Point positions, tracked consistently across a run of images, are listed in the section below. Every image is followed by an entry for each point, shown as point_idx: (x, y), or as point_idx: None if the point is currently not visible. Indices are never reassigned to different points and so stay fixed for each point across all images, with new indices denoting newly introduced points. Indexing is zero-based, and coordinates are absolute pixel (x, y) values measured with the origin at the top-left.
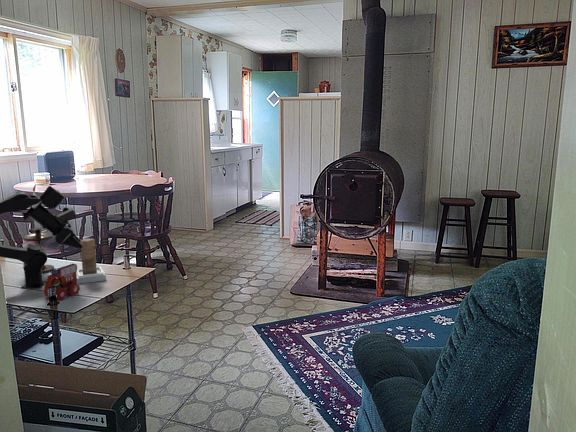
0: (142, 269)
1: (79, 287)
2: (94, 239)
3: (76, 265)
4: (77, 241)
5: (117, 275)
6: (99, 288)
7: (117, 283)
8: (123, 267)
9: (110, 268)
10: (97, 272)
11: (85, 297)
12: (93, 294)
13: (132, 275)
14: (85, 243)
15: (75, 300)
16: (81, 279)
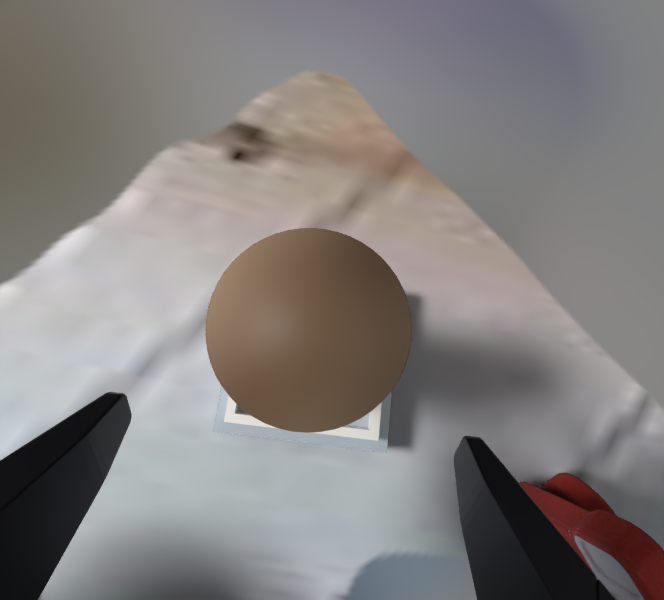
0: (312, 91)
1: (575, 477)
2: (306, 228)
3: (641, 531)
4: (574, 558)
5: (344, 220)
6: (514, 357)
7: (476, 258)
8: (218, 154)
9: (193, 215)
10: None
11: (625, 455)
12: (595, 407)
13: (384, 160)
14: (395, 379)
15: (652, 513)
16: (387, 424)
